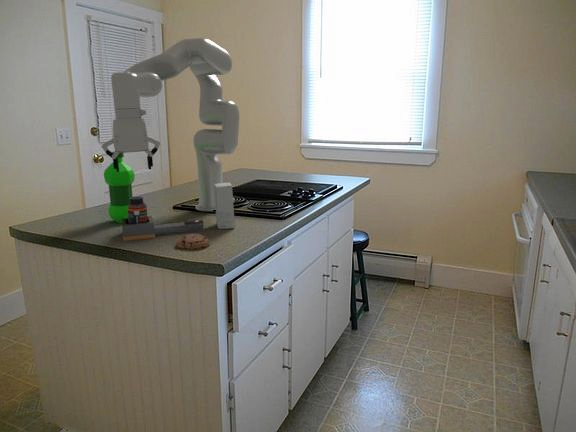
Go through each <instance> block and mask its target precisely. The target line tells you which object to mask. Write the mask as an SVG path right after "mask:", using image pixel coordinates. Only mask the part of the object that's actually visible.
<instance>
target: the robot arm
mask: <svg viewBox="0 0 576 432" xmlns="http://www.w3.org/2000/svg"><path fill="white" fill-rule="evenodd" d="M232 59H233V58H232V57H231V55H230V54H229V52H228V51H227V50H226V49H224V48H222V47H221V46H219V45H218V44H216V43H215V42H214V41H212V40H210V39H207V38H204V37H198V38H197V37H196V38H184V39H181V40H178V41H177V42H176V43H174V44H173V45H171V46H170V47H169V48H167V49H166V50H164V51H163V52H161V53H159V54H157V55H155V56H152V57H149V58H148V59H144V60H142V61H139V62H138V63H135V64H133V65H132V66H130V67H129V68H127V69H125V70H124V71H122V72H121V71H119V72H113V73H112V74H111V77H110V79H111V80H110V81H111V82H110V83H111V89H112V98H113V107H114V115H115V116H114V117H115V119H113V121H112V138H111V139H110V140H107V141H106V142H104V143H102V144H101V148H102V150H103V151H104V153H105V154H106V155H107V156H108V157H110V158H111V159H112V163H113V164H114V169H116V170H117V172H118V171H119V166H118V158H117V156H118V154H119V153H120V152H121V153H122V152H123V153H136V152H137V153H138V152H145V153H146V154H147V168H148V170H152V167H154V163H153V160H154V159H153V157H154V155H155V154H156V152H158V150H159V147H160V145H161V142H160V141H158V140H156V139H153V138H152V137H149V136H148V131H147V125H146V123H145V119H144V118H142V117H143V116H144V115H147V111H146V110H145V109H141V100H140V98H150V97H151V98H152V97H156V96H158V95H159V94H160V93H161V92H162V89H163V82H162V81H166V80H170V79H174V78H176V77H177V76H179V75H180V74H181V73H183V72H184V71H185V70H186V69H187V68H190V71H191V72H192V74H193V75H194V77H195V78H196V80H197V83H198V84H199V89H200V91H199V106H198V107H199V109H198V110H199V111H198V116H199V117H198V118H199V121H200V122H201V124H203V125H205V126H213V127H214V126H215V127H221V128H219V129H218V128H203V129H199V130H197V131H196V132H195V134H194V135H193V141H192V142H193V147H194V150H195V154H196V155H195V156H196V164H197V182H198V183H197V184H198V185H197V186H198V200H199V201H198V202H199V203H198V204H196V205H195V210H196V211H200V212H214V211H213V210H216V209H215V191H214V184H216V183H223V165H222V161H221V159H220V157H219V155H225V156H226V155H233V154H234V153H235V152H236V151H237V149H238V148H237V147H238V144H239V128H240V110H239V108H238V106H237V104H236V103H235V102H234V101H232V100H223V86H222V84H221V82H220V80H219V78H218V77H217V76H224V75H227V74H229V73H230V72H231V70H232V68H233V60H232ZM149 143H151V144H154V146H153V148H152V149H151V150H150V149H149ZM112 145H113V147H114V151H111V150H110V149H109V147H110V146H112ZM112 152H114V153H112ZM233 203H236V199H235V197H233Z"/></svg>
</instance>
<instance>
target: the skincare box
mask: <svg viewBox="0 0 576 432" xmlns="http://www.w3.org/2000/svg"><path fill="white" fill-rule="evenodd" d="M214 191H215V209H216V211H215V220H216V223H215V224H216V226H217V229H218V230H223V229H229V230H230V229H235V227H236V226H235V210H234V202H233V198H234V195H233V194H234V193H233V184H231V182H222V183H216V184H214Z"/></svg>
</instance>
